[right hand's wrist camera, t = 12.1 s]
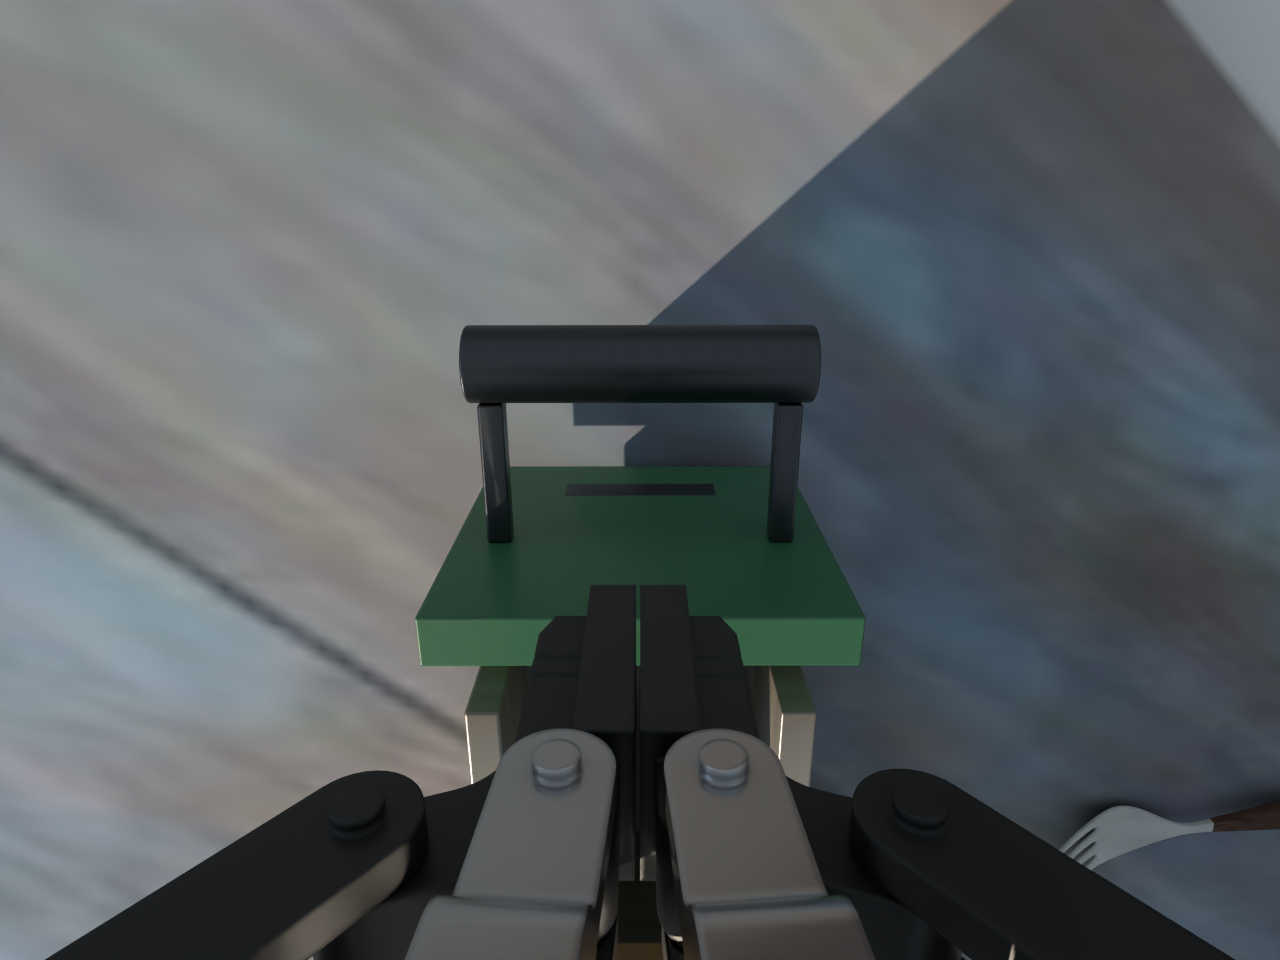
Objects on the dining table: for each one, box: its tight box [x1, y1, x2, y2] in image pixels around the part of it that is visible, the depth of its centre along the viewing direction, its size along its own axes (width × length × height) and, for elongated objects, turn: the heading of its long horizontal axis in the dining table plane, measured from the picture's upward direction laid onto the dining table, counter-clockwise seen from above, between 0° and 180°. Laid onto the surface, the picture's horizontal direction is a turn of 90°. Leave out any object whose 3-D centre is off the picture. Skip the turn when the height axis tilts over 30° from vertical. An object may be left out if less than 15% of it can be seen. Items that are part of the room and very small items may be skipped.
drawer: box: [415, 325, 866, 943], centre depth 22 cm, size 20×9×9 cm, turn 0°
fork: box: [1058, 801, 1280, 870], centre depth 30 cm, size 3×16×2 cm, turn 101°
